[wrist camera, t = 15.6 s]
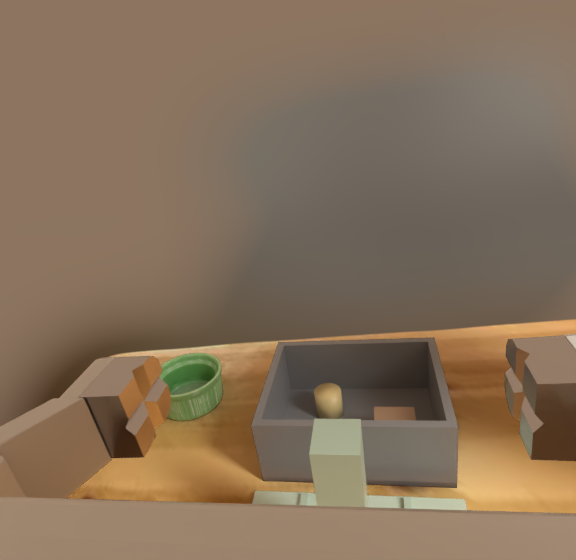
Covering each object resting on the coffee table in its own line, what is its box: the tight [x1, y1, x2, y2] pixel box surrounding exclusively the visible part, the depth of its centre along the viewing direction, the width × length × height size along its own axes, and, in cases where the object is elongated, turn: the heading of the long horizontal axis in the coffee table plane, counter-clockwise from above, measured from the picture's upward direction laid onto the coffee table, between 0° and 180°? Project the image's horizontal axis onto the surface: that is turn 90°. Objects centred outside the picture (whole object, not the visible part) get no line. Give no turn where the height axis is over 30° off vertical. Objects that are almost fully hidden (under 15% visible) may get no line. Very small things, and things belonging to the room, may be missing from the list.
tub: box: [251, 338, 458, 488], centre depth 45 cm, size 18×14×7 cm
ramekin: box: [159, 353, 223, 421], centre depth 55 cm, size 9×9×4 cm
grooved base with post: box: [252, 419, 467, 510], centre depth 30 cm, size 19×15×15 cm
